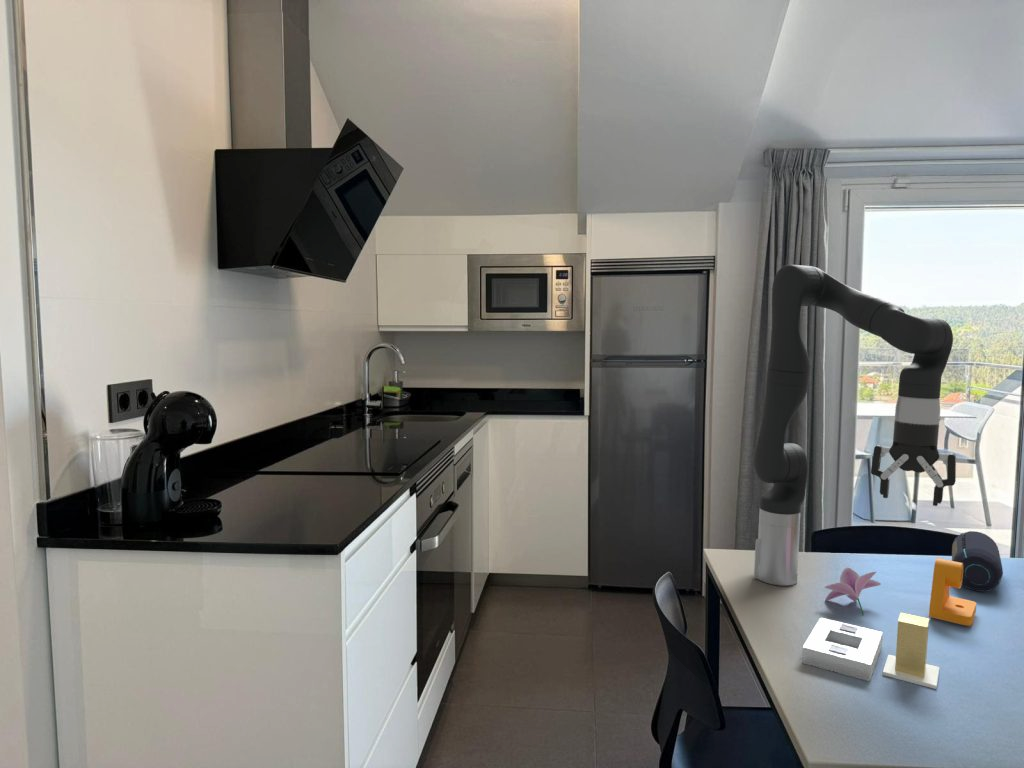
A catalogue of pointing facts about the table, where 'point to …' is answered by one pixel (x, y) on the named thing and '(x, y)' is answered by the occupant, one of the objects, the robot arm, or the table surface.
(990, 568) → the portable speaker
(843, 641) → the socket block
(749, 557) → the table surface
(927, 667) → the pad
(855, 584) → the lily
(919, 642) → the brass peg
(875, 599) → the table surface
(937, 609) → the bracket
